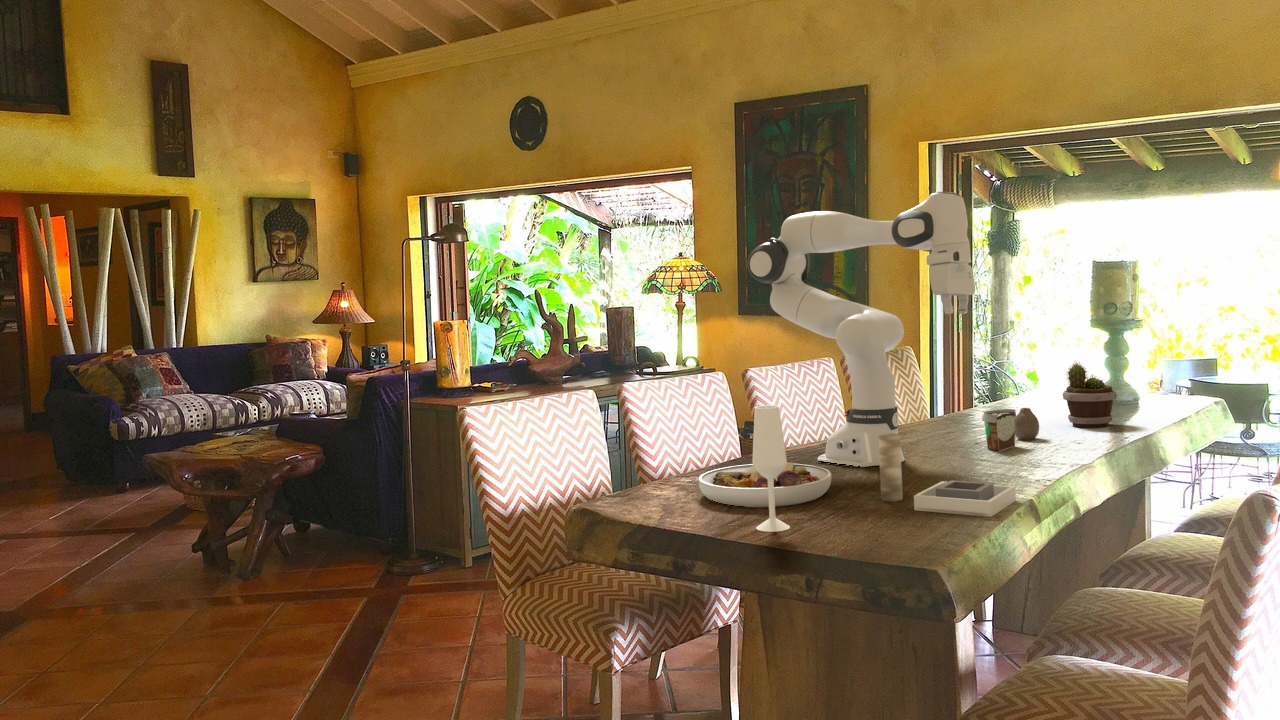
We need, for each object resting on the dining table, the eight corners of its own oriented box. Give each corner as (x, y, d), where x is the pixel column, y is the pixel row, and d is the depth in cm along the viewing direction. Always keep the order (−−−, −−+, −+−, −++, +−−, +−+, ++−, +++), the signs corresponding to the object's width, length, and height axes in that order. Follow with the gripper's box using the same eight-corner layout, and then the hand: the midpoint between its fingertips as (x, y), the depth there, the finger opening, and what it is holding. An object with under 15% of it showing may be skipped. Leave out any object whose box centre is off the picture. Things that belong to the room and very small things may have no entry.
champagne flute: (751, 525, 199) (744, 406, 197) (782, 522, 200) (776, 403, 199) (762, 533, 192) (756, 410, 191) (795, 529, 194) (789, 407, 192)
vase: (1041, 440, 277) (1040, 409, 276) (1015, 441, 278) (1014, 410, 278) (1037, 436, 284) (1036, 406, 283) (1011, 437, 285) (1010, 407, 284)
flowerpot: (1110, 421, 303) (1108, 356, 302) (1122, 428, 288) (1120, 360, 287) (1059, 422, 307) (1057, 358, 305) (1069, 430, 292) (1066, 362, 290)
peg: (877, 500, 214) (874, 436, 214) (886, 496, 218) (883, 433, 217) (897, 502, 212) (894, 437, 211) (906, 498, 215) (903, 434, 214)
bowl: (678, 494, 236) (676, 461, 235) (789, 478, 247) (787, 446, 246) (737, 517, 208) (735, 480, 207) (858, 498, 219) (857, 463, 218)
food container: (995, 444, 276) (994, 408, 275) (1017, 445, 271) (1016, 409, 271) (974, 450, 267) (973, 414, 266) (996, 452, 263) (995, 415, 262)
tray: (914, 510, 204) (913, 490, 203) (942, 495, 216) (941, 476, 216) (991, 516, 194) (990, 496, 194) (1015, 500, 206) (1015, 481, 206)
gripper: (954, 260, 253) (958, 314, 253) (923, 257, 237) (928, 315, 237) (978, 257, 249) (983, 312, 249) (949, 253, 233) (954, 312, 233)
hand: (956, 313), depth 243 cm, fingers open, 8 cm apart
